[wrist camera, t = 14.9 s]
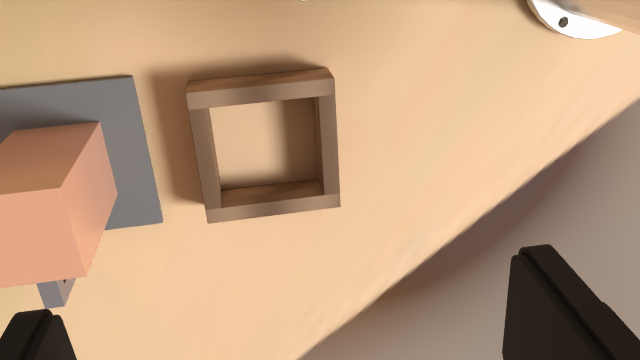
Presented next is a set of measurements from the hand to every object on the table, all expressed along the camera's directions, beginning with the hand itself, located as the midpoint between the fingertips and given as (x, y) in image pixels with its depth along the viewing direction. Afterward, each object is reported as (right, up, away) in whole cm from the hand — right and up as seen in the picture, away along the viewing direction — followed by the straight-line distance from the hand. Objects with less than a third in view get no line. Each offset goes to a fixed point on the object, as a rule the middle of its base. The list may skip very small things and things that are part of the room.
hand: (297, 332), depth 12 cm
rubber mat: (-19, +5, +30) cm, 36 cm away
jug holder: (-4, +6, +32) cm, 33 cm away
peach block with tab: (-18, +3, +31) cm, 36 cm away
